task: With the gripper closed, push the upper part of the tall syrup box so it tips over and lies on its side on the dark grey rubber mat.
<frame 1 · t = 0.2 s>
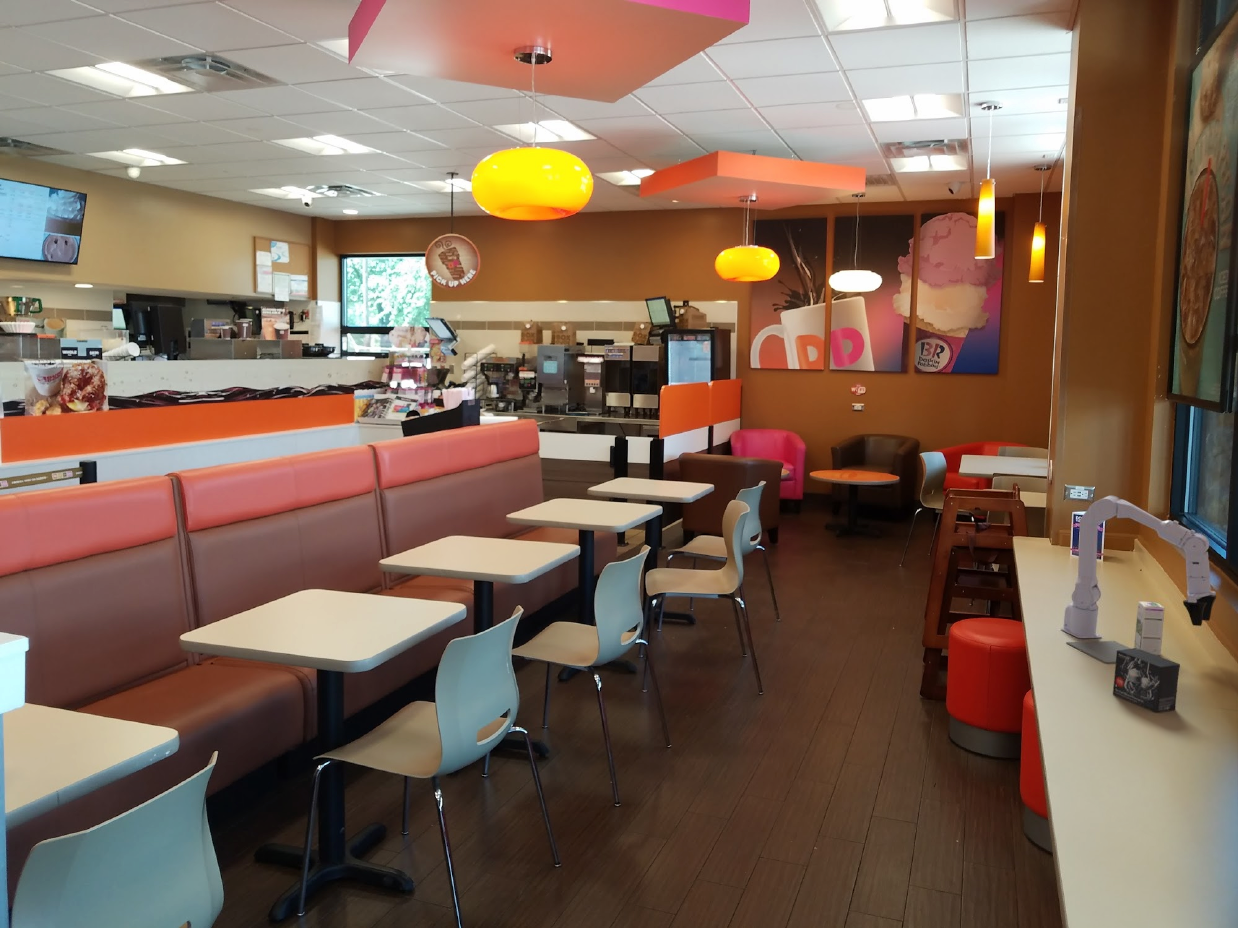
hand: (1201, 622, 274), 10 cm above the table, tool pointing down, fingers open, 7 cm apart
syrup box: (1146, 652, 279), on the table
small box: (1143, 702, 238), on the table
grey mat: (1110, 652, 277), on the table
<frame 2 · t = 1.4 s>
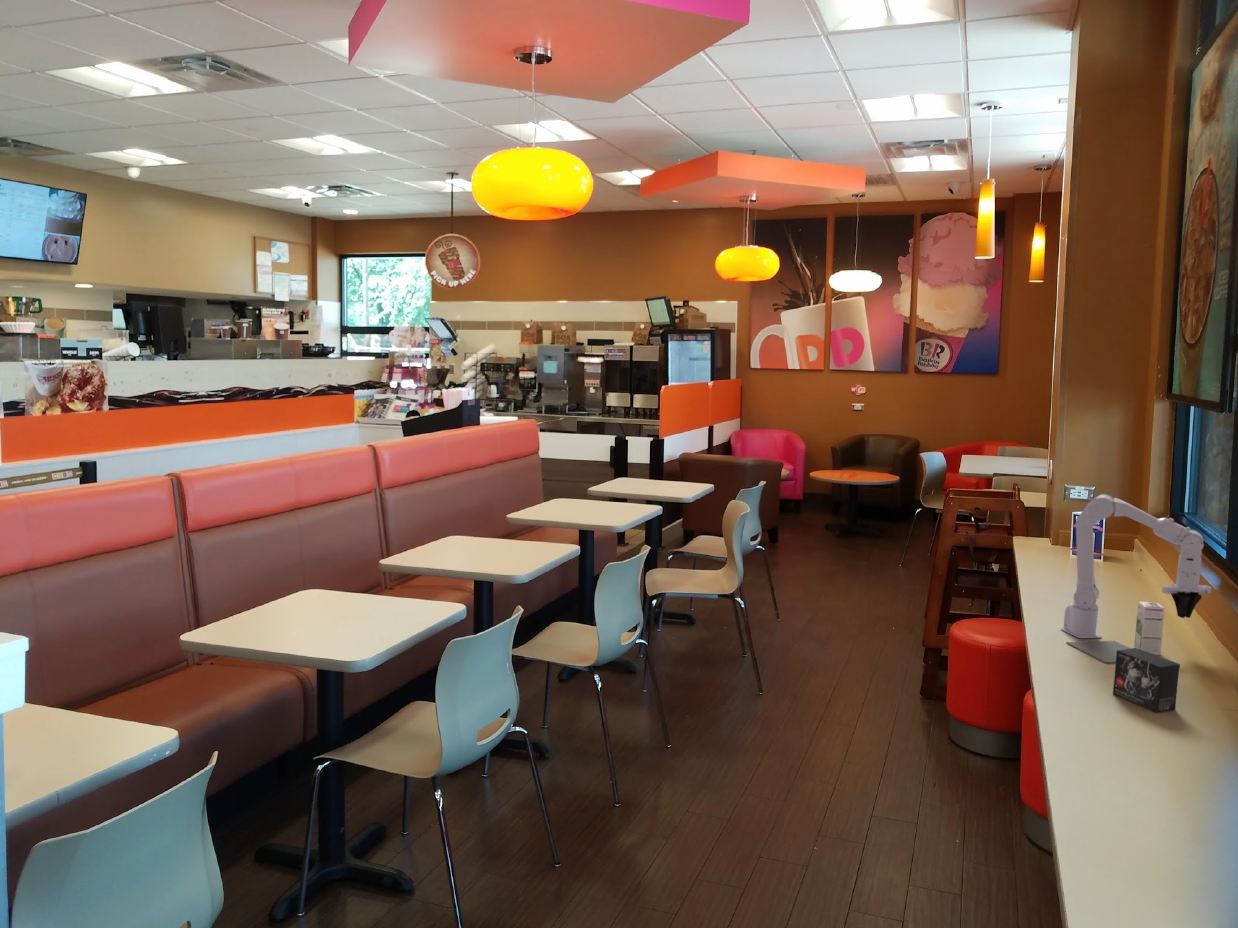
hand: (1183, 616, 280), 10 cm above the table, tool pointing down, fingers closed
nothing on the table moved.
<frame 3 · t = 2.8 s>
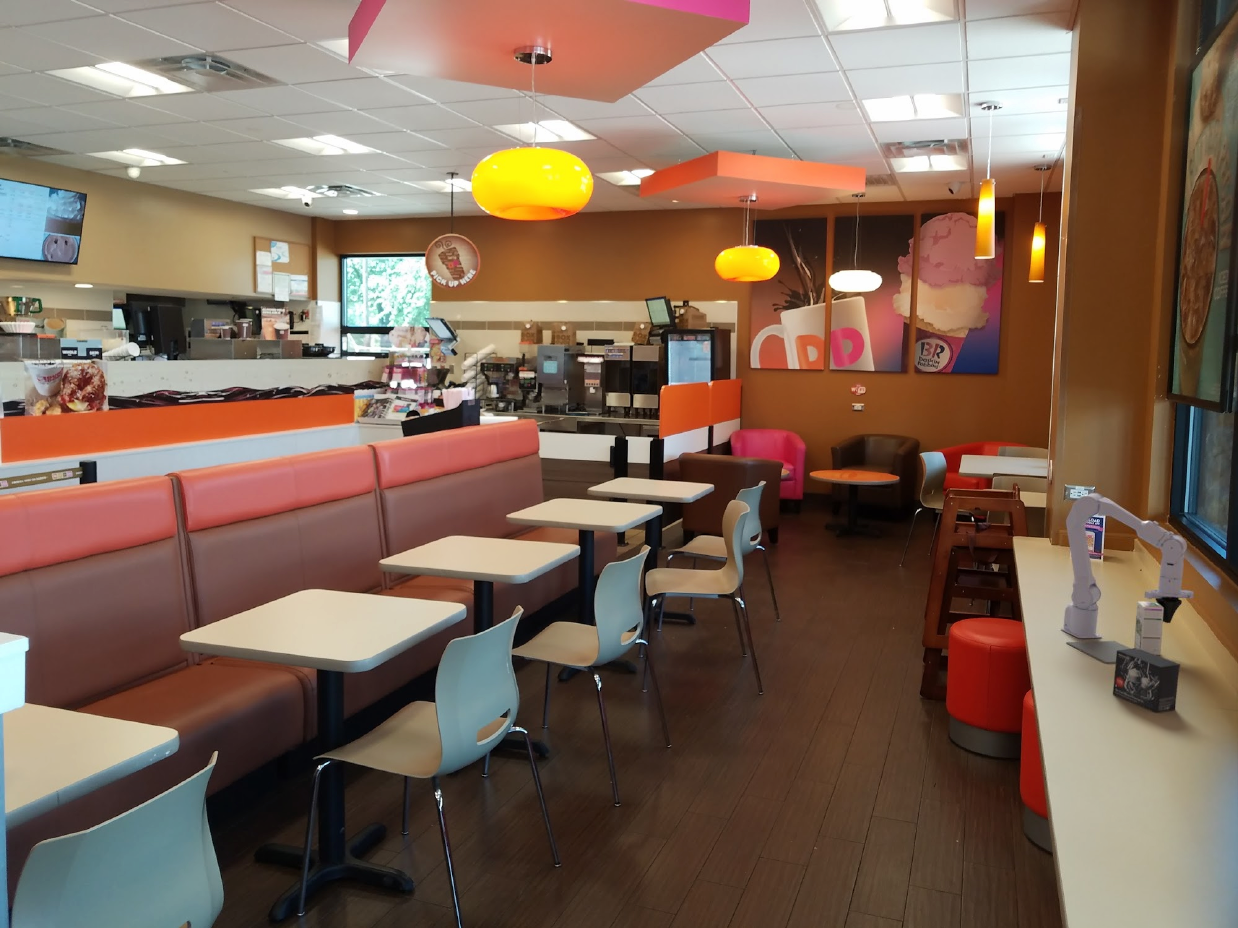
hand: (1166, 621, 279), 9 cm above the table, tool pointing down, fingers closed
syrup box: (1146, 652, 279), on the table, touching gripper
everything else where it was.
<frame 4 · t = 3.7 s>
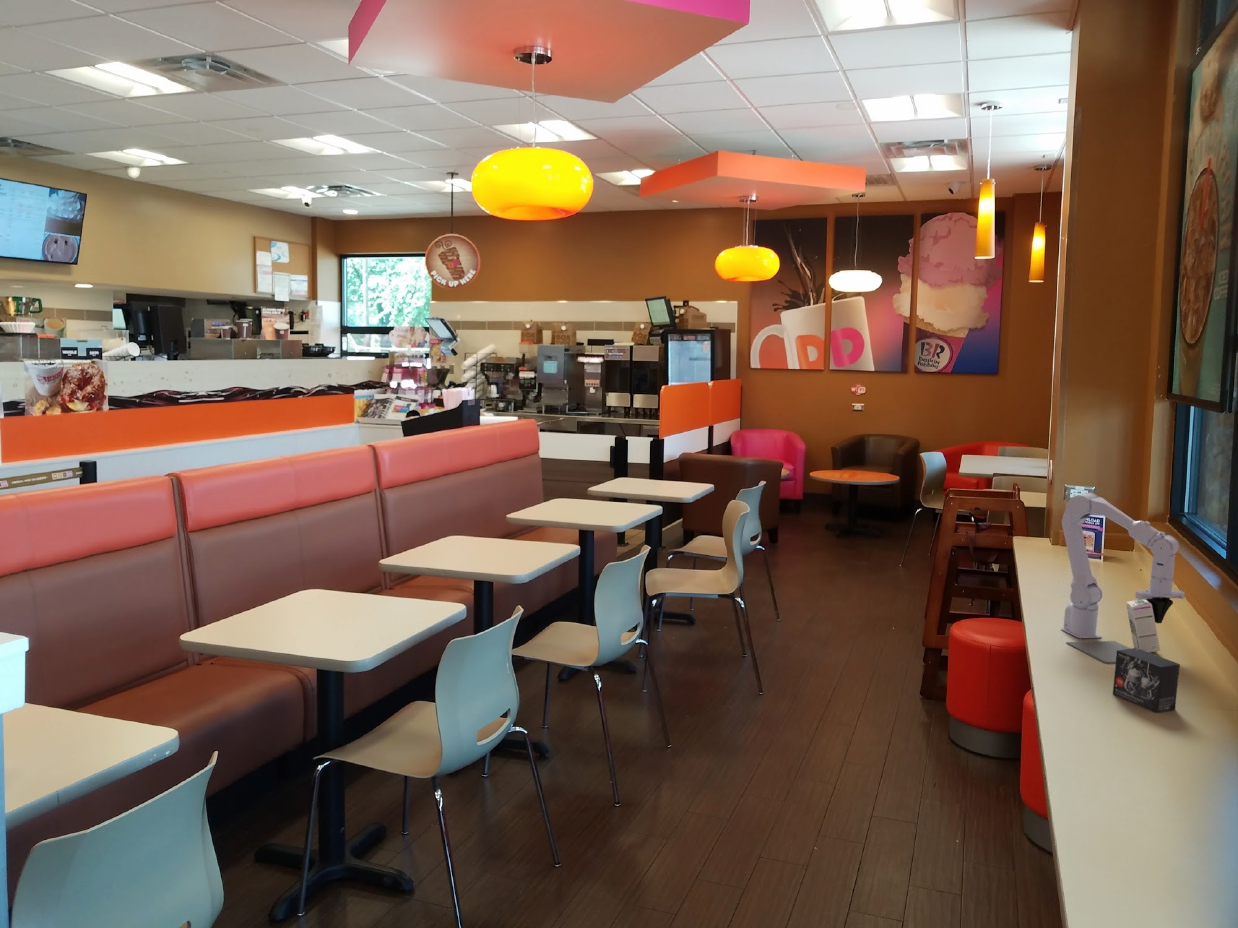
hand: (1157, 622, 279), 9 cm above the table, tool pointing down, fingers closed
syrup box: (1146, 650, 279), on the table
everything else where it was.
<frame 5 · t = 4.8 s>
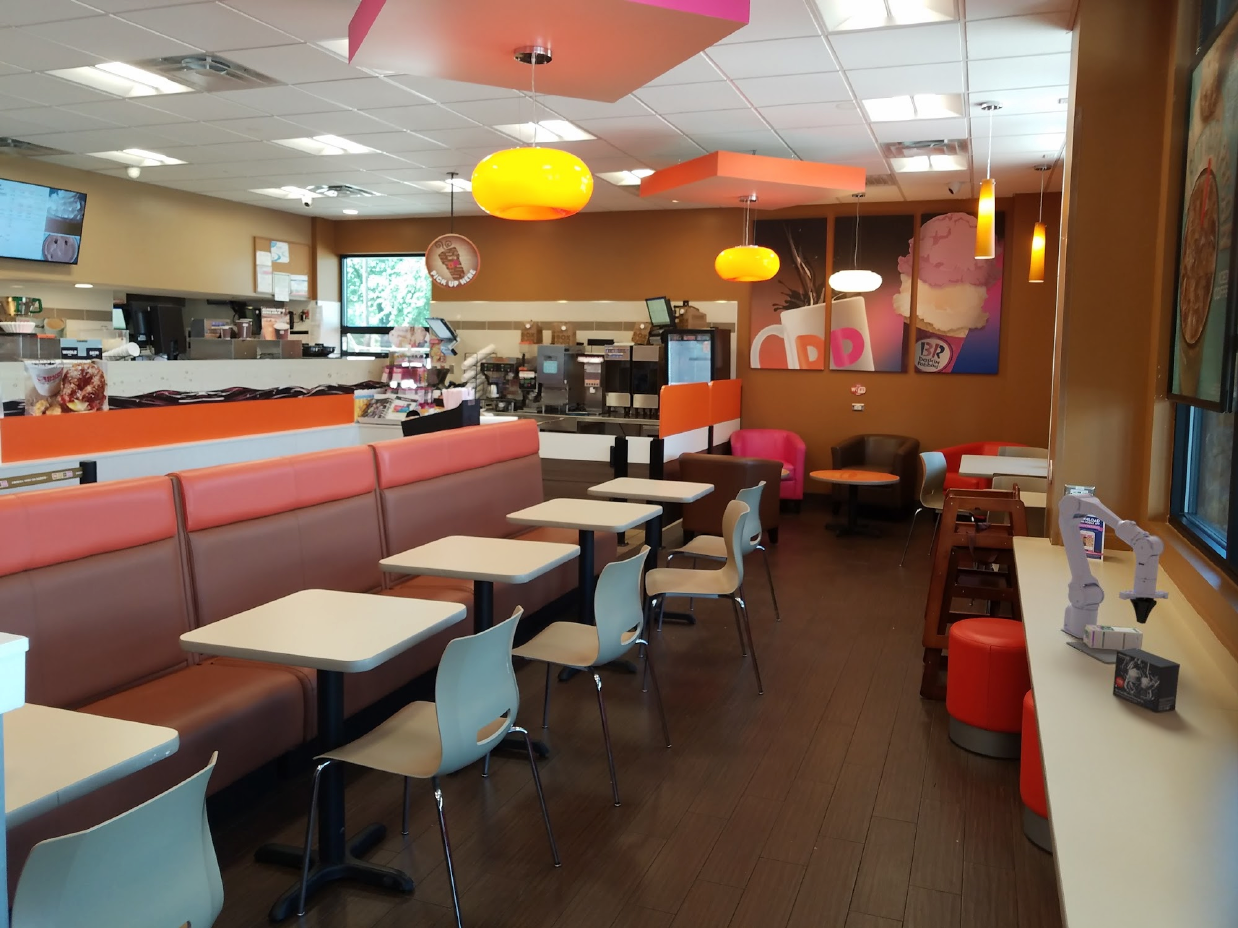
hand: (1141, 622, 278), 9 cm above the table, tool pointing down, fingers closed
syrup box: (1139, 640, 280), point 3 cm above the table, touching grey mat
everything else where it was.
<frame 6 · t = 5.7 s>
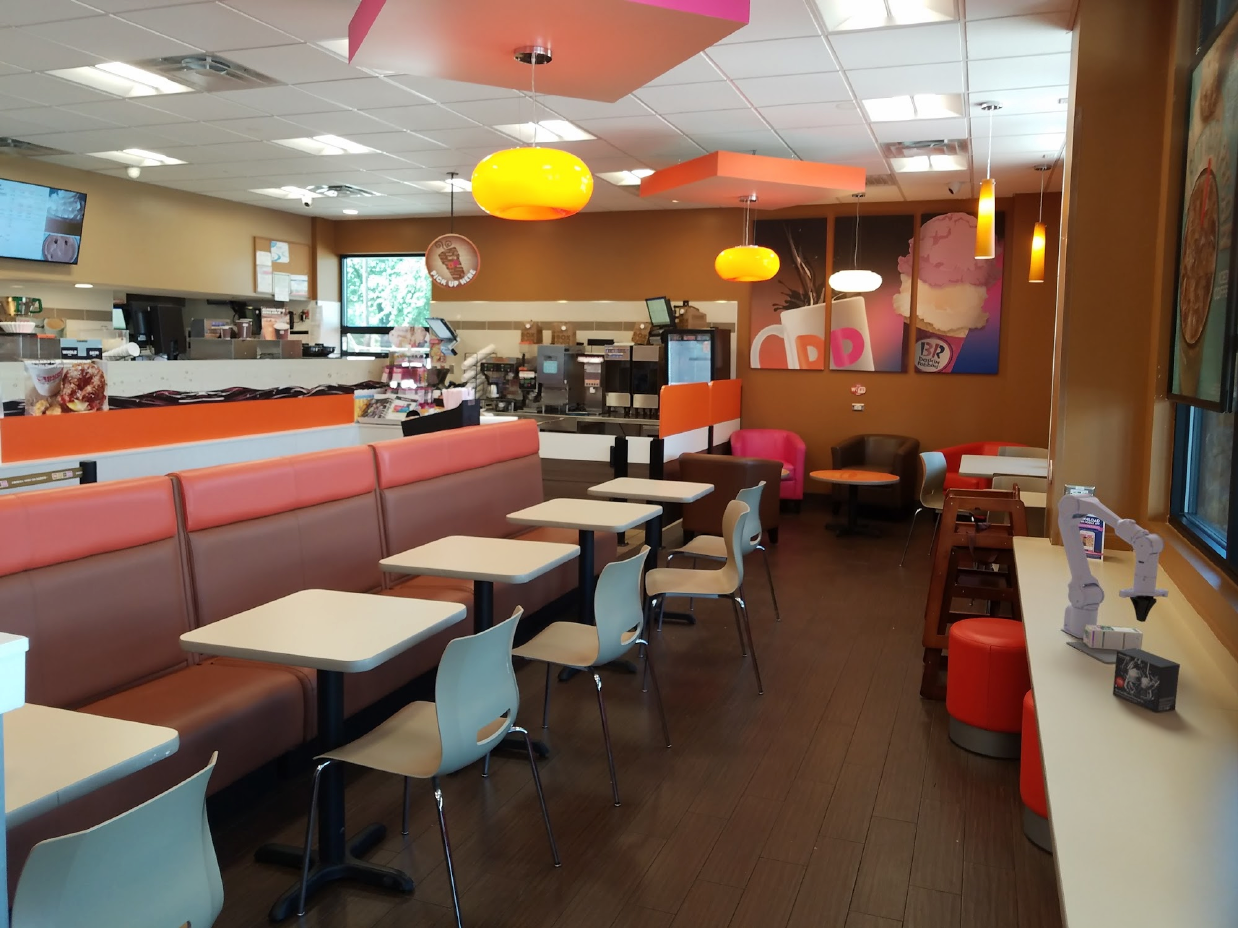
hand: (1140, 620, 278), 9 cm above the table, tool pointing down, fingers closed
nothing on the table moved.
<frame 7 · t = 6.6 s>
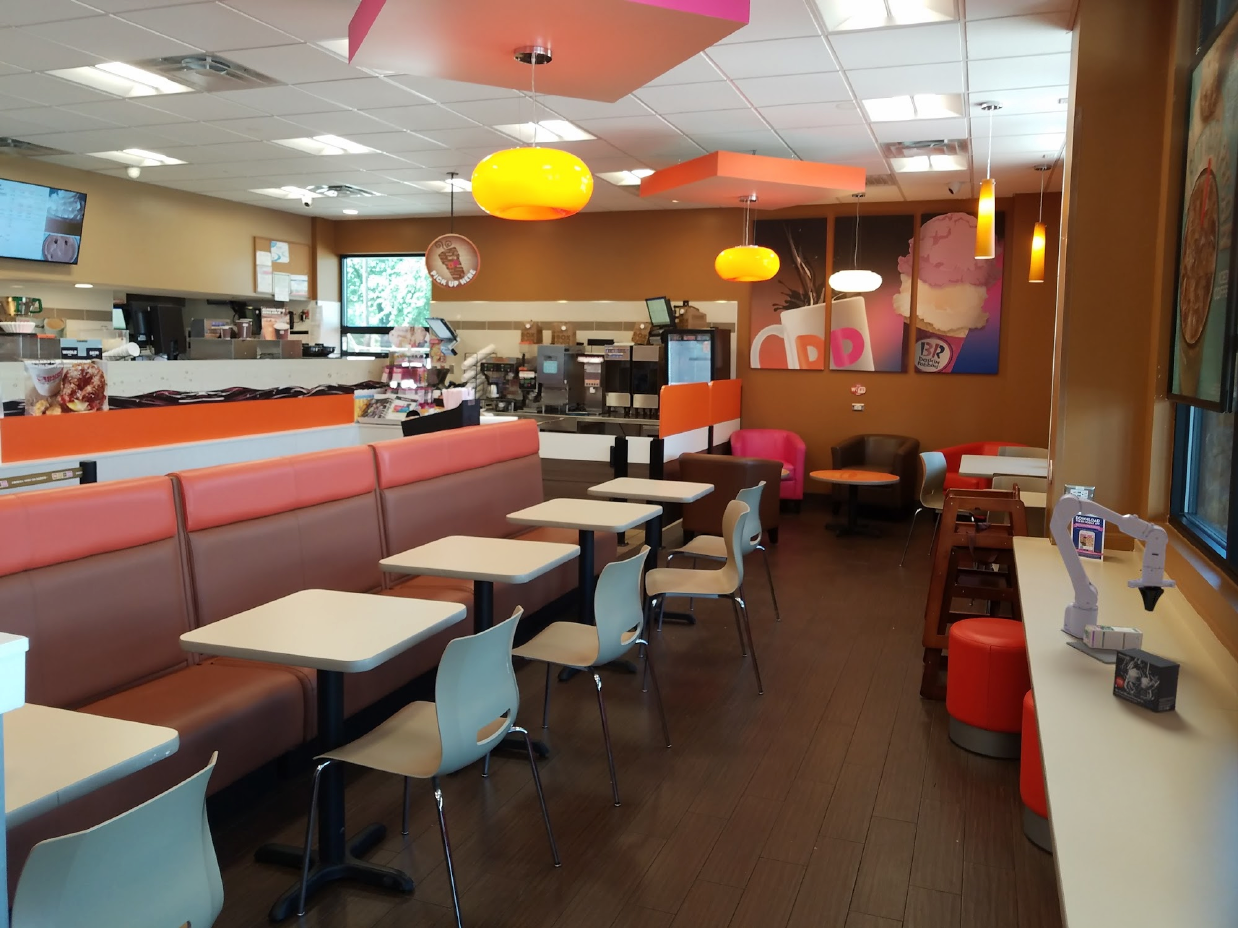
hand: (1148, 610, 285), 10 cm above the table, tool pointing down, fingers closed
nothing on the table moved.
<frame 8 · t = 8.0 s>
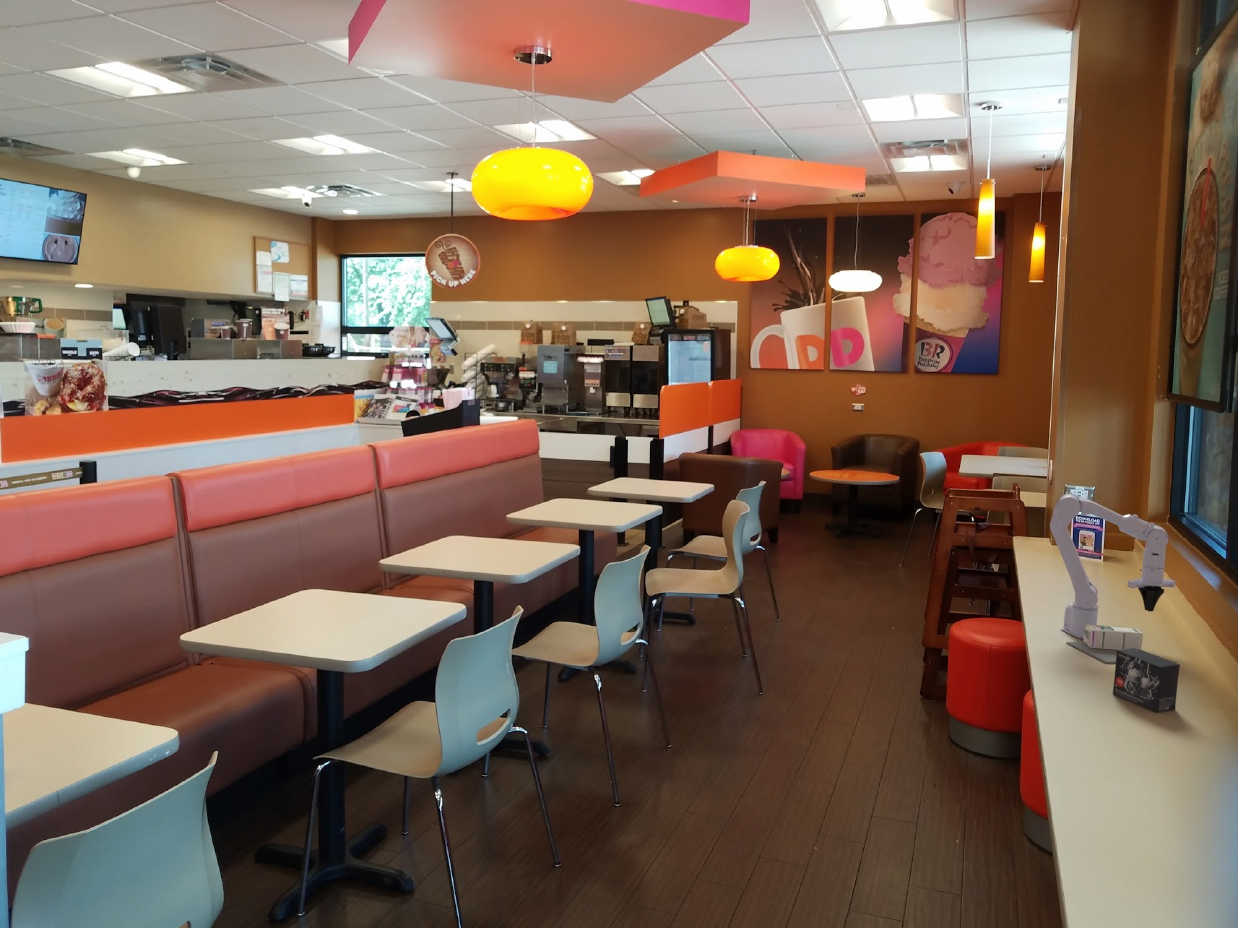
hand: (1148, 610, 286), 10 cm above the table, tool pointing down, fingers closed
nothing on the table moved.
at the end: syrup box tilted 89°; syrup box touching grey mat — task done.
